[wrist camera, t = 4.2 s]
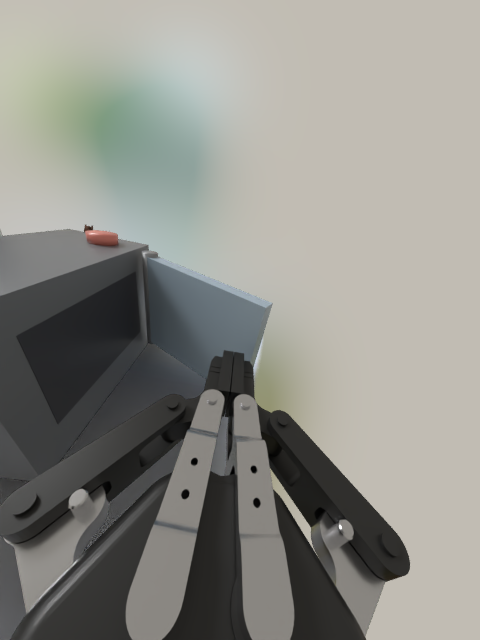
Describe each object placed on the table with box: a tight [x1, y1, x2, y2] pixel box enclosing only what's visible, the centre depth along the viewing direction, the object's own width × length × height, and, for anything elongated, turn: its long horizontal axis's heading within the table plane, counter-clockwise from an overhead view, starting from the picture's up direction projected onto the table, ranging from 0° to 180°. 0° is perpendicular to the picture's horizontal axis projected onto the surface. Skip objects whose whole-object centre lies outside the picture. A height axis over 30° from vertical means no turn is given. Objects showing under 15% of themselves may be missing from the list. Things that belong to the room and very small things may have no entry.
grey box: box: [0, 229, 149, 481], centre depth 15 cm, size 8×18×13 cm, turn 178°
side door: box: [142, 251, 272, 379], centre depth 19 cm, size 2×14×11 cm, turn 58°
